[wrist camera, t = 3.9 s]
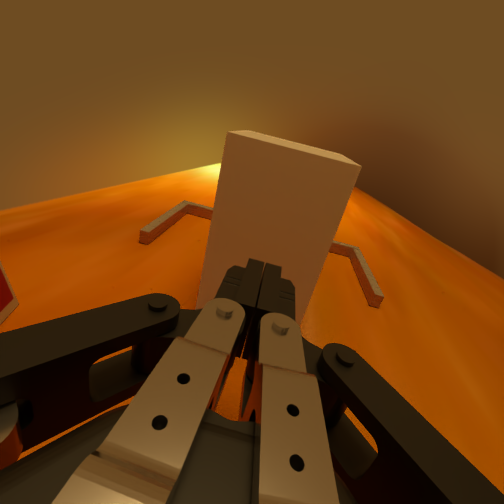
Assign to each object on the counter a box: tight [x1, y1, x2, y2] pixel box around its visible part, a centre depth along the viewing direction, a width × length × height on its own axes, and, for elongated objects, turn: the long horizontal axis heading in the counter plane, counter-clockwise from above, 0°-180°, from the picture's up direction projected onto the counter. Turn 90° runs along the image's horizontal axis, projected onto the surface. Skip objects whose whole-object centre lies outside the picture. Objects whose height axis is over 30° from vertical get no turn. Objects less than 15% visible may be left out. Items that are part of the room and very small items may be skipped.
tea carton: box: [195, 130, 361, 327], centre depth 23 cm, size 8×8×14 cm
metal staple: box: [139, 200, 384, 308], centre depth 37 cm, size 27×14×2 cm, turn 82°
